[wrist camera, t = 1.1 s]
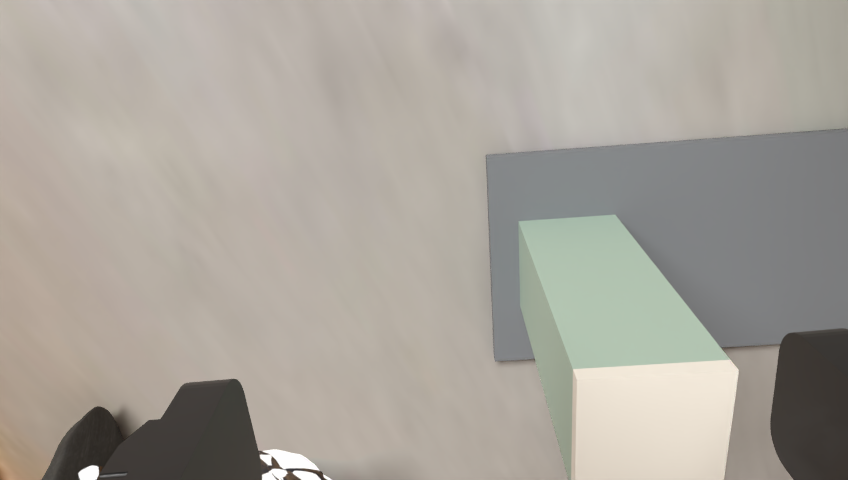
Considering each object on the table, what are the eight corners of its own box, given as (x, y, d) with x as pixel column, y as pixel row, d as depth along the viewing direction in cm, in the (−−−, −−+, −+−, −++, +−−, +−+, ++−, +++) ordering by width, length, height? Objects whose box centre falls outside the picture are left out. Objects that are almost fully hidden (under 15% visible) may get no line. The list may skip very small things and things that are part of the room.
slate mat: (485, 154, 32) (486, 158, 31) (971, 119, 31) (981, 122, 30) (494, 355, 36) (494, 361, 36) (916, 329, 35) (924, 335, 35)
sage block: (518, 221, 33) (577, 379, 20) (615, 214, 32) (738, 370, 19) (520, 305, 34) (574, 501, 22) (611, 300, 34) (722, 493, 21)
